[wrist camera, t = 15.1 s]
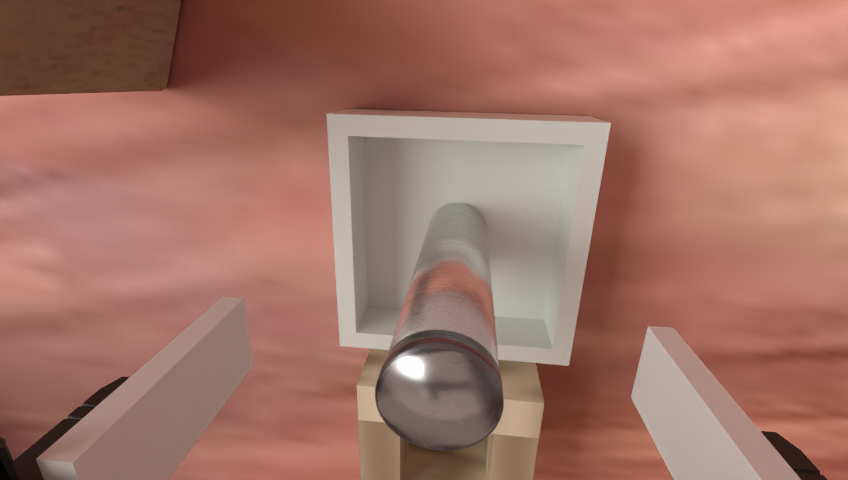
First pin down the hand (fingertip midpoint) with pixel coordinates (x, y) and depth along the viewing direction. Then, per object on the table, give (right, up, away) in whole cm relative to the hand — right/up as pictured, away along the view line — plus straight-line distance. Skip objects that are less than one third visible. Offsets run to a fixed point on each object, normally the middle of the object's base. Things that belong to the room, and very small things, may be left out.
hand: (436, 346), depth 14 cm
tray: (+2, +4, +11) cm, 12 cm away
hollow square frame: (+1, -7, +16) cm, 17 cm away
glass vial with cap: (+1, +4, +11) cm, 11 cm away
